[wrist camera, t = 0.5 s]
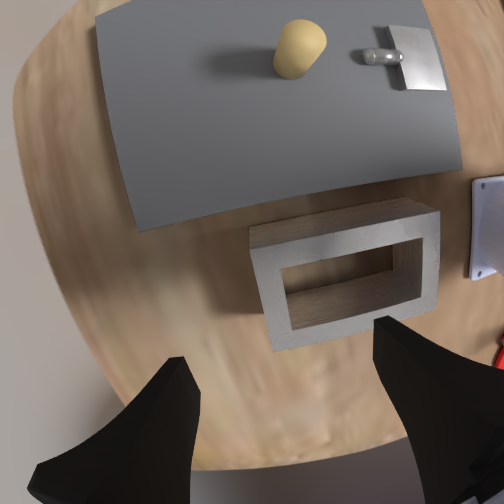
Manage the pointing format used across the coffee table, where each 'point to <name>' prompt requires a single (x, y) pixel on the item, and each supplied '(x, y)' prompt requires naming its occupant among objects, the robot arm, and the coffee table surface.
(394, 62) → the chain anchor
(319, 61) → the board
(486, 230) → the robot arm
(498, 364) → the tow hook
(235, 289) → the coffee table surface
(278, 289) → the steel link
